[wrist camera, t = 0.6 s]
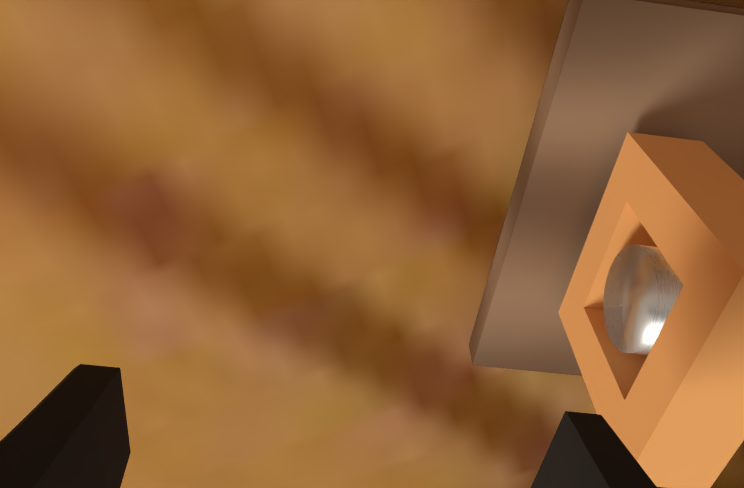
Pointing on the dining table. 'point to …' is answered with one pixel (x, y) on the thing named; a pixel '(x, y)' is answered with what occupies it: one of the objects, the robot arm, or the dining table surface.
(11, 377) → the dining table surface
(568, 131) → the pipe board
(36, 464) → the robot arm
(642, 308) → the pipe
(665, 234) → the collar
